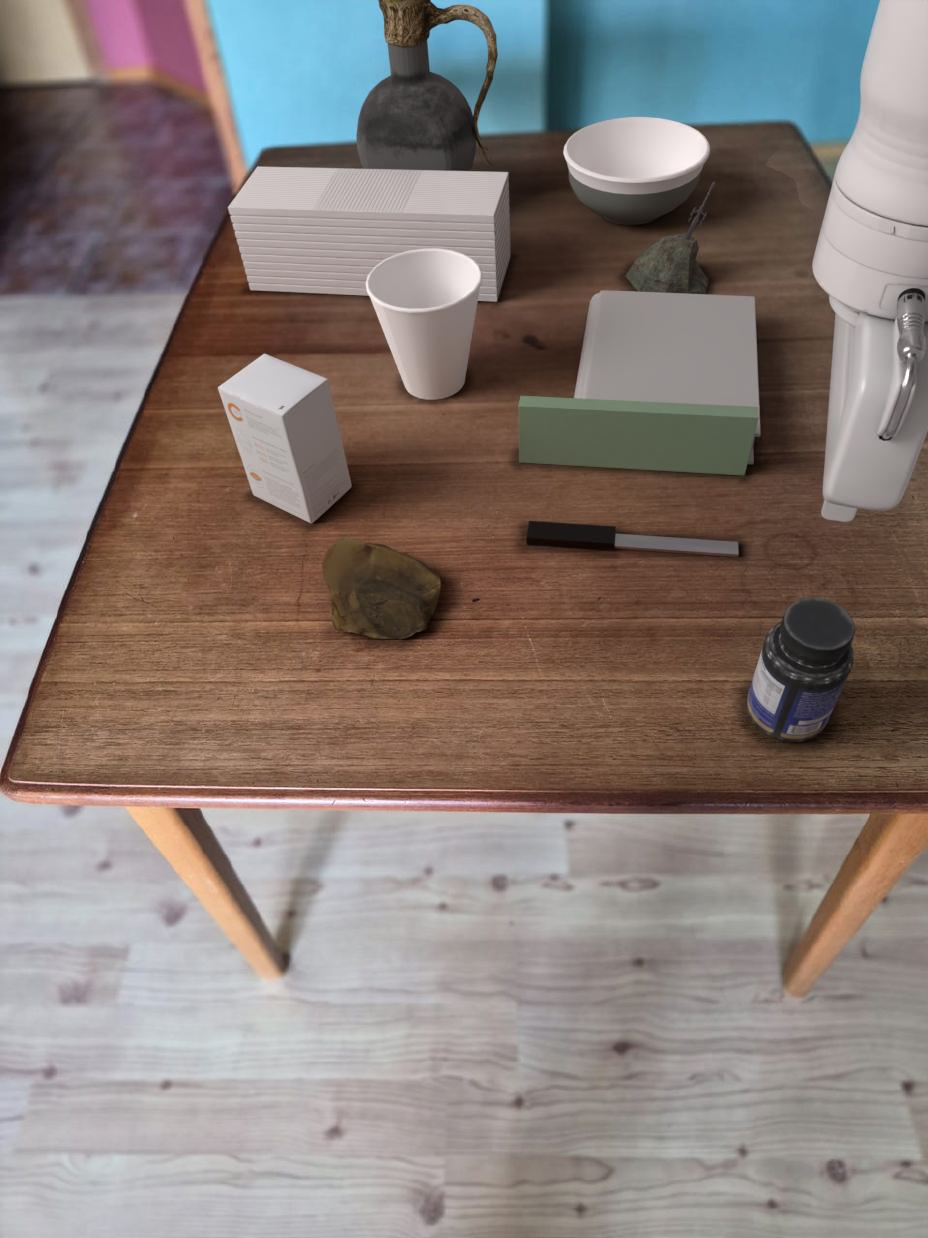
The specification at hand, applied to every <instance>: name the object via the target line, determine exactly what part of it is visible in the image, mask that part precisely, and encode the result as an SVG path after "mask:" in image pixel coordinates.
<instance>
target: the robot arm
mask: <svg viewBox="0 0 928 1238" xmlns="http://www.w3.org/2000/svg"><path fill="white" fill-rule="evenodd" d="M859 91H860V104H859V105H860V107H859V111H858V112H859V113H858V118H857V121H856V124H855V127H854V130H853V133H852V135H851V137H850V138H849V141H848V143H847V144H846V146H845V148H844V149H843V151H842V153H841V156H840V157H839V160H838V162H837V165H836V168H835V172H834V175H833V179H832V183H831V188H830V192H829V196H828V200H827V203H826V208H825V211H824V215H823V219H822V223H821V227H820V230H819V235H818V238H817V243H816V246H815V249H814V254H813V258H812V264H811V265H812V266H811V268H812V274H813V276H814V279H815V281H816V282H817V284H818V285H819V286H820V288H821V289H822V290H823V291H824V292H825V293H827V295H828V299H829V301H828V302H829V305H830V307H831V309H832V310H833V312H834V313H835V317H834V328H833V342H832V357H831V368H830V369H831V370H830V384H829V398H828V410H827V411H828V412H827V425H826V439H825V452H824V453H825V454H824V465H823V466H824V467H823V481H822V499H821V510H820V515H821V517H822V518H823V519H825V520H827V521H834V522H840V523H849V522H852V521H853V520H854V519H855V517H856V514H857V512H858V510H867V511H876V512H887V511H890V510H892V509H894V508H895V507H897V506H898V505H899V504H900V502H901V501H902V499H903V497H904V495H905V493H906V490H907V489H908V485H909V483H910V480H911V477H912V475H913V472H914V470H915V467H916V464H917V462H918V458H919V456H920V453H921V450H922V448H923V445H924V442H925V440H926V436H927V434H928V0H879V2H878V6H877V8H876V13H875V17H874V20H873V24H872V27H871V30H870V34H869V38H868V42H867V46H866V50H865V54H864V57H863V61H862V66H861V71H860V78H859Z"/></svg>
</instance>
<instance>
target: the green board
mask: <svg viewBox="0 0 928 1238" xmlns="http://www.w3.org/2000/svg"><path fill="white" fill-rule="evenodd" d="M517 406H518V409H517V410H518V460H519V461H518V463H520V464H521V463H522V464H537V465H556V466H570V467H571V466H572V467H573V466H574V467H591V468H606V469H607V468H608V469H623V470H641V471H643V470H644V471H660V472H674V473H675V472H677V473H678V472H679V473H691V474H692V473H693V474H711V475H726V476H727V475H728V476H729V475H730V476H746V471H747V468H748V465H749V464H748V460H749V456H750V452H751V447H752V443H753V439H754V435H755V431H756V427H757V423H758V419H759V415H758V407H750V406H729V405H707V404H686V403H665V402H643V401H622V400H600V399H579V398H574V397H558V396H557V397H556V396H555V397H553V396H537V395H536V396H533V395H532V396H531V395H519V400H518V405H517ZM754 440H755V439H754Z"/></svg>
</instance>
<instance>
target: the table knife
mask: <svg viewBox="0 0 928 1238" xmlns="http://www.w3.org/2000/svg"><path fill="white" fill-rule="evenodd" d="M525 539H526V545H527V546H540V547H553V548H554V547H555V548H569V549H581V550H596V551H597V550H598V551H608V552H609V551H615V550H630V551H644V552H656V553H657V552H658V553H659V552H660V553H671V554H685V555H701V556H713V557H714V556H715V557H717V556H718V557H727V558H728V557H729V558H739V554H740V552H739V541H731V540H717V539H715V540H714V539H703V538H702V539H701V538H689V537H672V536H658V535H645V534H632V533H631V534H630V533H629V534H628V533H616V526H615V525H614V526H613V525H599V524H585V523H584V524H583V523H569V522H557V521H555V522H553V521H539V520H528V525H527V531H526V538H525Z"/></svg>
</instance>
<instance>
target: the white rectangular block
mask: <svg viewBox="0 0 928 1238" xmlns="http://www.w3.org/2000/svg"><path fill="white" fill-rule="evenodd" d="M756 314H757V313H756V296H755V295H754V296H752V295H734V294H733V295H732V294H731V295H730V294H728V295H727V294H709V293H708V294H684V293H659V292H638V291H635V290H634V291H633V290H632V291H630V290H609V289H606V290H605V289H604V290H603V289H602V290H600V291H599V292H597V293H595V294H594V295H592V297H591V299H590V301H589V305H588V311H587V317H586V323H585V330H584V336H583V341H582V348H581V353H580V360H579V365H578V371H577V376H576V384H575V390H574V395H573V398H579V399H600V400H622V401H643V402H665V403H686V404H707V405H729V406H750V407H758V415H759V419H758V423H757V427H756V431H755V435H754V439H753V443H752V447H751V452H750V456H749V460H748V464H747V465H754V461H755V460H754V459H755V458H754V457H755V455H754V444H755V439H756V438H760V437H761V413H760V412H761V411H760V409H761V408H760V387H759V386H760V385H759V366H758V365H759V363H758V343H757V342H758V341H757V340H758V338H757V316H756Z"/></svg>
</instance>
